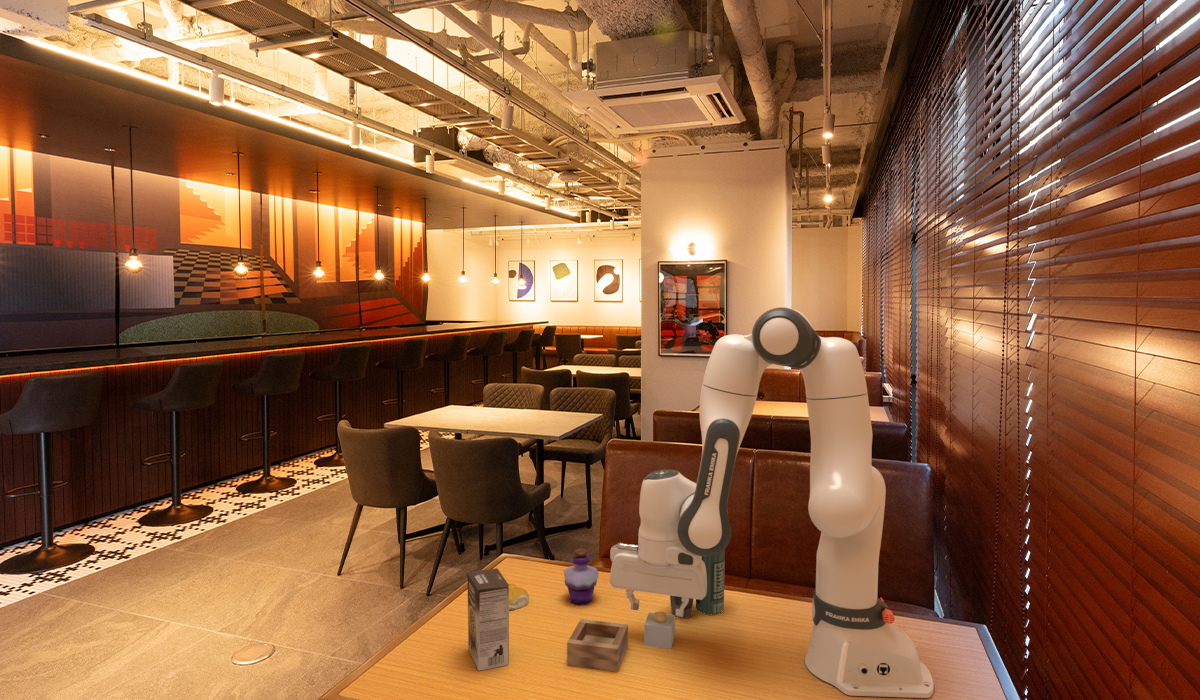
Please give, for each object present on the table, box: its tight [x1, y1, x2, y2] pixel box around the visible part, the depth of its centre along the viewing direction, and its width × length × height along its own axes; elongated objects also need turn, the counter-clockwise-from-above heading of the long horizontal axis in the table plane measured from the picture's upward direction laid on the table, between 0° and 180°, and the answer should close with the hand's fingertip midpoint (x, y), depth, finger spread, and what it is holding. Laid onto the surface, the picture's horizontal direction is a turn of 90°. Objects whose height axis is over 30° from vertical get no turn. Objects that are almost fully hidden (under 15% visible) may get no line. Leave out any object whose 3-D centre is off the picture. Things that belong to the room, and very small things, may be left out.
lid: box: [643, 611, 676, 649], centre depth 137 cm, size 6×6×6 cm
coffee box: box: [466, 567, 510, 672], centre depth 129 cm, size 9×6×16 cm
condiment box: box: [566, 618, 629, 673], centre depth 131 cm, size 10×10×4 cm
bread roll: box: [508, 583, 530, 611], centre depth 154 cm, size 8×9×4 cm
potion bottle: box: [562, 548, 599, 606], centre depth 155 cm, size 9×9×12 cm
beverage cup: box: [669, 595, 694, 619], centre depth 148 cm, size 7×7×20 cm
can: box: [695, 548, 726, 616], centre depth 151 cm, size 6×6×15 cm
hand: (657, 612), depth 137 cm, fingers open, 8 cm apart
